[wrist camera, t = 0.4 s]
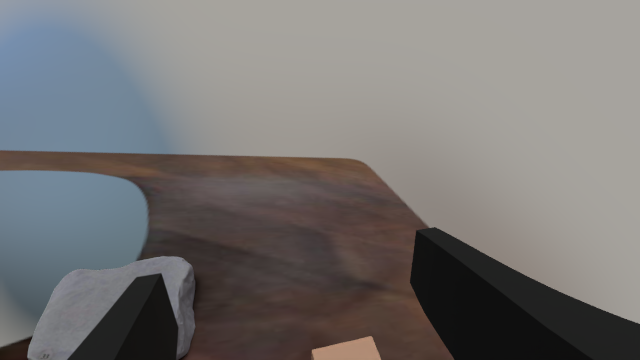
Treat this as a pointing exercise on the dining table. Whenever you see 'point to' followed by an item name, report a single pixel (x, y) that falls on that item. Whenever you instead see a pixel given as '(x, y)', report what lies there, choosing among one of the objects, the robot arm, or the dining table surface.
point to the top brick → (348, 351)
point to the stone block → (108, 305)
